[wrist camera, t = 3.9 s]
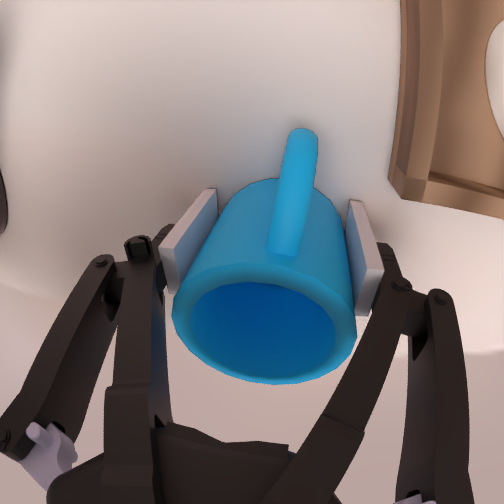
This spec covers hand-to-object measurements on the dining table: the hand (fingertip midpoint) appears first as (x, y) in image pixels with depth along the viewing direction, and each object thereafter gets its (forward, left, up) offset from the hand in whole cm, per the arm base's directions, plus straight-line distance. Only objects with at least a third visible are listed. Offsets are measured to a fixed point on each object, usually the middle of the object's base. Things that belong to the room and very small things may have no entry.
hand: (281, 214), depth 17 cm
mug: (0, 0, 0) cm, 1 cm away
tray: (+16, +17, 0) cm, 23 cm away
